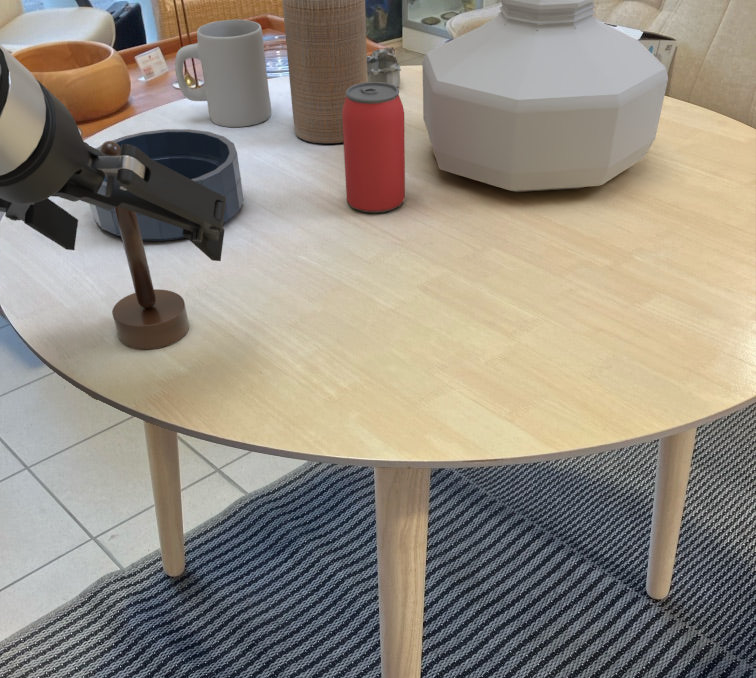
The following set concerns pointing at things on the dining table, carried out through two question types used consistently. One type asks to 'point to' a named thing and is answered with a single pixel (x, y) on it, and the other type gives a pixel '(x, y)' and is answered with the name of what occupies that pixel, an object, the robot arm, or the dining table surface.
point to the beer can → (374, 147)
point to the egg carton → (383, 67)
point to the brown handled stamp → (144, 291)
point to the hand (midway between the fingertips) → (144, 240)
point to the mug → (229, 72)
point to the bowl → (189, 158)
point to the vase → (323, 63)
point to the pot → (542, 98)
